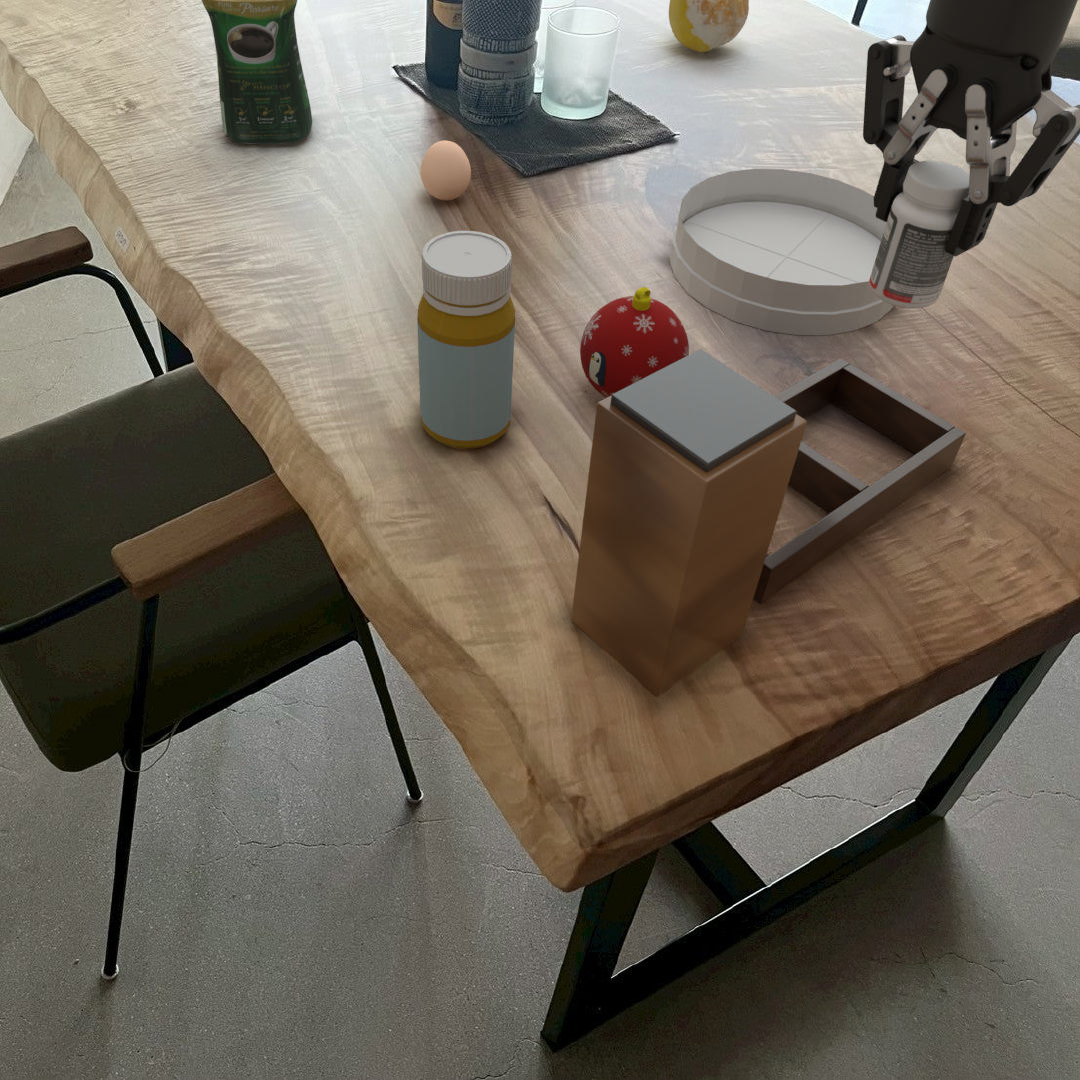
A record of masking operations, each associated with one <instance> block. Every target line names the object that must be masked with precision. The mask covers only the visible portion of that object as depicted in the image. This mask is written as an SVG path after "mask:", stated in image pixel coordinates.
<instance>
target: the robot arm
mask: <svg viewBox="0 0 1080 1080" xmlns="http://www.w3.org/2000/svg"><path fill="white" fill-rule="evenodd" d="M1078 1H1079V0H929V3H928V6H927V10H926V14H925V22H926V24H925V27H924V29H923V31H922V32H921V34H920V35H919V36H918V37H917V38H916V39H915V41H912V40H907V39H906V37H905V36H904V35H900V34H899V35H895V36H892V37H889V38H886V39H883V40H879V41H877V42H875V43H872V44H870V46H869V47H868V49H867V56H866V57H867V58H866V75H865V91H864V92H865V93H864V108H863V127H862V138H863V141H864V142H865V143H867V145H871V146H872V145H874V146H876V147H877V148H878V150H879V151H881V153H882V158H883V164H882V169H881V172H880V175H879V179H878V181H877V185H876V190H875V192H874V195H873V196H874V207H876V208H877V211H876V218H878V219H880V220H882V221H884V222H887V220H888V217H889V213H890V210H891V207H892V204H893V201H894V199H895V198H896V196H897V195H898V194H900V193H901V192H903V183H904V181H905V178H906V175H907V173H908V170H909V168H910V166H911V165H912V164H914V163H916V162H920V160H918V159H916V158H915V157H916V156H917V155H918V154H919V153H920V152H921V151H922V150H923V148H924V147H925V145H926V144H927V143H928V141H929V140H930V138H931V137H932V136H933V134H934V133H935V132H936V131H937V130H938V129H942V130H950V131H951V132H953V133H954V134H955V135H956V136H958V137H959V138H960V139H962V140H965V162H966V164H968V166H969V174H970V176H969V197H967V198H965V199H963V201H962V203H961V206H960V209H959V212H958V214H957V217H956V220H955V223H954V225H953V228H952V231H951V234H950V237H949V239H948V242H947V245H946V248H945V252H947V253H949V254H951V255H953V256H954V257H958V256H960V255H962V254H964V253H965V252H967V251H969V250H972V249H973V248H975V247H977V246H979V244H981V242H982V241H984V239H985V236H986V234H987V231H988V229H989V226H990V225H991V224H990V223H991V221H992V218H993V217H994V214H995V211H996V209H997V205H998V204H1001V205H1003V206H1004V207H1012V206H1014V205H1016V204H1018V203H1019V202H1020V201H1022V200H1024V199H1026V198H1030V197H1032V196H1033V195H1035V194H1036V193H1037V192H1038V191H1039V189H1040V188H1041V187H1042V185H1044V183H1045V181H1046V180H1047V179H1048V178H1049V176H1050V175H1051V173H1052V172H1053V171H1054V169H1055V168H1056V167H1057V165H1058V164H1059V163H1060V161H1061V160H1062V159H1063V157H1064V156H1065V155H1066V153H1067V152H1068V150H1069V149H1070V147H1072V145H1073V144H1074V142H1075V141H1076V140H1077V138H1078V137H1079V135H1080V104H1077V105H1074V106H1073V105H1071V104H1069V102H1067V101H1066V100H1064V99H1063V98H1062V97H1060V96H1059V95H1058V94H1056V93H1055V92H1054V91H1053V90H1052V86H1053V80H1052V79H1053V78H1052V65H1053V61H1054V59H1055V56H1056V55H1057V52H1058V50H1059V49H1060V47H1061V44H1062V42H1063V39H1064V37H1065V35H1066V32H1067V30H1068V27H1069V24H1070V21H1071V19H1072V17H1073V14H1074V11H1075V9H1076V6H1077V4H1078ZM911 69H912V75H913V80H914V83H915V87H916V91H917V95H916V97H915V98H914V100H913V101H912V103H911V104H910V106H909V107H908V109H907V111H906V112H905V113H904V115H903V110H904V96H905V85H906V76H907V75H909V73H910V71H911ZM1032 110H1034V112H1035V115H1036V117H1035V122H1034V124H1033V127H1032V135H1033V136H1034V137H1035V140H1034V141H1033V142H1032V144H1031V145H1030V147H1029V148H1028V149H1027V151H1026V152H1025V154H1024V155H1023V157H1022V158H1021V159H1020V161H1019V162H1018V164H1017V165H1016V166H1015V168H1014V169H1013V171H1012V173H1011V174H1010V172H1011V156H1012V154H1013V153H1014V151H1015V149H1016V143H1017V125H1018V121H1019V120H1020V119H1022V118H1023V117H1024V116H1025V115H1027V114H1028V113H1030V112H1031V111H1032Z"/></svg>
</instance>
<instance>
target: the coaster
mask: <svg viewBox="0 0 1080 1080" xmlns="http://www.w3.org/2000/svg"><path fill="white" fill-rule="evenodd" d="M774 396H775V395H772V394H771V393H770V392H768V391H767V390H765V389H763V388H762V387H761V386H759V385H757V384H755V383H754V382H752V381H751V380H749V379H748V378H746V377H745V376H744V375H742V374H740V373H738V372H737V371H735V370H734V369H732V368H731V367H729V366H728V365H726V364H725V363H724V362H722V361H720V360H719V359H717V358H715V357H714V356H712V355H711V354H709V353H707V352H706V351H705V350H703V349H702V348H700V349H698V350H695V351H694V352H692V353H689V355H688V356H686V357H684V358H682V359H680V360H678V361H676V362H674V363H672V364H670V365H668V366H667V367H665V368H663V369H661V370H659V371H657V372H655V373H653V374H651V375H649V376H647V377H645V378H643V379H641V380H639V381H637V382H635V383H633V384H631V385H629V386H628V387H626V388H624V389H622V390H620V391H618V392H616V393H614V394H612V395H611V404H612V405H614V406H615V407H617V408H618V409H619V410H621V411H622V412H623V413H625V414H626V415H628V416H629V417H630V418H632V419H633V420H635V421H636V422H637V423H639V424H640V425H641V426H643V427H644V428H646V429H647V430H648V431H650V432H651V433H653V434H654V435H655V436H657V437H658V438H659V439H661V440H662V441H664V442H665V443H666V444H668V445H669V446H671V447H672V448H673V449H675V450H676V451H677V452H679V453H680V454H682V455H683V456H684V457H686V458H687V459H689V460H690V461H691V462H693V463H694V464H695V465H697V466H698V467H700V468H701V469H702V470H704V471H705V472H708V471H709V470H711V469H713V468H714V467H716V466H718V465H719V464H721V463H723V462H724V461H726V460H728V459H729V458H731V457H733V456H734V455H736V454H738V453H739V452H741V451H743V450H744V449H746V448H748V447H749V446H751V445H753V444H754V443H756V442H758V441H759V440H761V439H763V438H764V437H766V436H768V435H769V434H771V433H773V432H774V431H776V430H778V429H779V428H781V427H783V426H784V425H786V424H788V423H789V422H791V421H793V420H794V419H795V416H796V413H797V411H796V410H794V409H793V408H791V407H790V406H788V405H787V404H785V403H784V402H782V401H780V400H779V399H777V398H776V397H774Z"/></svg>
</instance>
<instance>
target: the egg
mask: <svg viewBox="0 0 1080 1080" xmlns="http://www.w3.org/2000/svg"><path fill="white" fill-rule="evenodd" d="M471 177H472V169H471V163H470V160H469V158H468V156H467V154H466V153H465V151H464V150H463V148H462V147H461V146H460V145H459V144H457V143H456V142H453V141H451V140H439V141H436V142H435V143H434V144H432V145H430V147H428V149H427V150H426V152H425V153H424V155H423V157H422V160H421V164H420V179H421V182H422V185H423V187H424V189H425V190H426V192H428V193H429V195H430V196H432V197H434V198H435V199H438V200H440V201H441V200H442V201H452V200H455V199H458V198H459V197H460V196H462V195H463V194H464V193H465V192H466V190H467V189H468V187H469V185H470V184H471Z"/></svg>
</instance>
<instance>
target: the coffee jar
mask: <svg viewBox="0 0 1080 1080" xmlns="http://www.w3.org/2000/svg"><path fill="white" fill-rule="evenodd" d="M201 3H202V5H203V7H204V9H205V10H206V13H207V14H208V17H209V19H210V23H211V28H212V33H213V41H214V46H215V55H216V56H215V57H216V64H217V78H218V79H217V80H218V92H219V104H220V105H219V106H220V114H221V115H220V116H221V123H222V128H223V129H222V130H223V134H225V136H226V137H227V138H228V139H230V140H232V141H233V142H235V143H237V144H247V145H278V144H279V145H283V144H295V143H299V142H300V141H302V140H304V139H305V138H307V137H308V136H309V135H310V133H311V131H312V128H313V114H312V109H311V103H310V98H309V93H308V88H307V83H306V78H305V75H304V70H303V66H302V61H301V55H300V50H299V44H298V38H297V37H298V36H297V31H296V30H297V29H296V22H295V21H296V20H295V12H296V7H297V4H298V0H201Z"/></svg>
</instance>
